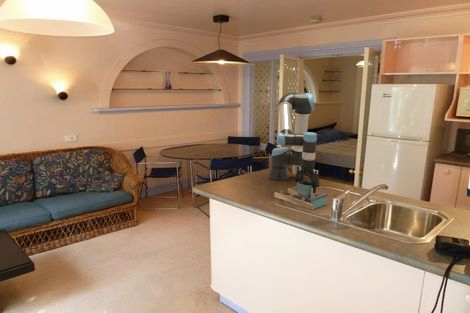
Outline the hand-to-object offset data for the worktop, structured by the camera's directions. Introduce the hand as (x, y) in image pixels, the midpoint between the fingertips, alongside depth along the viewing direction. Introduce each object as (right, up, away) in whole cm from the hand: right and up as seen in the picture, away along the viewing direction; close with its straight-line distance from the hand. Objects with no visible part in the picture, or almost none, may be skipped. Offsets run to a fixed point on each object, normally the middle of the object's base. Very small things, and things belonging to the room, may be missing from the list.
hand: (305, 196), depth 199 cm
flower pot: (0, -1, 0) cm, 1 cm away
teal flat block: (+6, -5, -6) cm, 10 cm away
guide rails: (-3, -3, +4) cm, 6 cm away
